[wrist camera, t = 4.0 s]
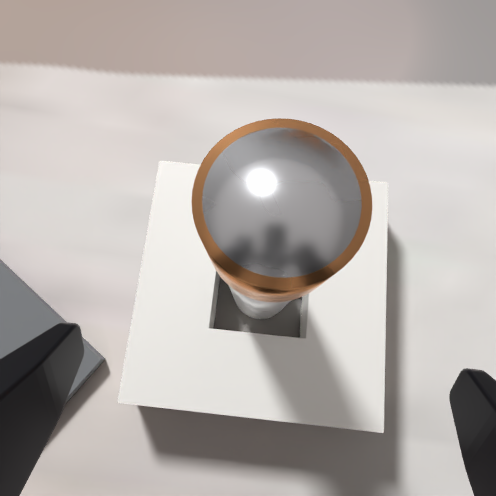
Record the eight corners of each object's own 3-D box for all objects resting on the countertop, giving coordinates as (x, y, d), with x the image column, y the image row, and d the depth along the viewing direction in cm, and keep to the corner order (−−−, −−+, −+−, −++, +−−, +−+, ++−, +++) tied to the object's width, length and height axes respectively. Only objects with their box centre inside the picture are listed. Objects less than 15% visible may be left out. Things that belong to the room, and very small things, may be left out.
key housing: (372, 199, 22) (388, 182, 19) (366, 421, 19) (383, 433, 17) (169, 180, 22) (159, 160, 20) (133, 395, 19) (116, 402, 17)
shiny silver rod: (293, 264, 21) (374, 126, 7) (288, 326, 20) (370, 298, 7) (233, 258, 21) (204, 111, 8) (225, 319, 20) (179, 278, 7)
